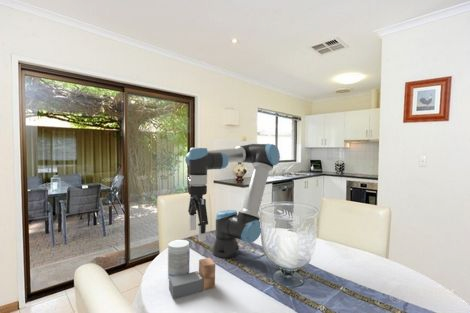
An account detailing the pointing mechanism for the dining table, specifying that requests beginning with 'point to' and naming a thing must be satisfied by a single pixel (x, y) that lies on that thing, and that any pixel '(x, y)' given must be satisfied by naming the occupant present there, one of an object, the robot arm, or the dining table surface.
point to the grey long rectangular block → (185, 284)
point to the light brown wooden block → (207, 272)
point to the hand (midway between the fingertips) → (197, 235)
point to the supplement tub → (178, 257)
